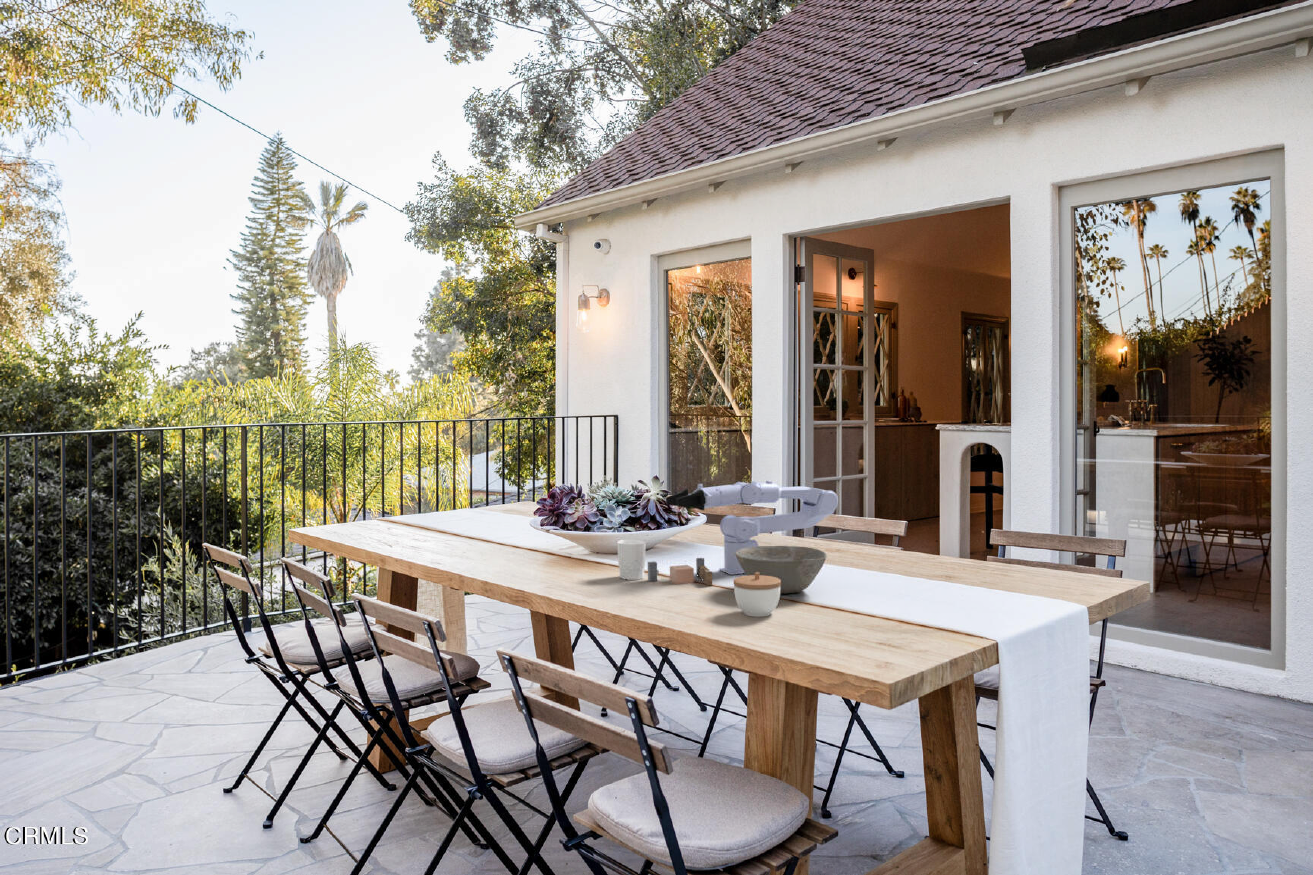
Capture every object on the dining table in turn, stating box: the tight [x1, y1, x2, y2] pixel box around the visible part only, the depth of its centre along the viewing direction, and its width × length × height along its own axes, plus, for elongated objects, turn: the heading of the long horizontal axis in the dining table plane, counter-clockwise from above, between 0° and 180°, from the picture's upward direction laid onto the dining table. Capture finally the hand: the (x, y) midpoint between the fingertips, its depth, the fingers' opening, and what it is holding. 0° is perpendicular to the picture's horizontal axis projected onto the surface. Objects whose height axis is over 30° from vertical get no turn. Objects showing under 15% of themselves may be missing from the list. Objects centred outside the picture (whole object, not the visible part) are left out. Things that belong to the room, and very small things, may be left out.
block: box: [669, 564, 695, 585], centre depth 231 cm, size 5×5×4 cm
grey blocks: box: [647, 557, 705, 582], centre depth 234 cm, size 16×2×5 cm, turn 109°
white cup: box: [616, 539, 647, 581], centre depth 236 cm, size 8×8×10 cm
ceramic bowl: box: [735, 545, 827, 595], centre depth 217 cm, size 22×23×10 cm
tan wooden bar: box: [699, 564, 713, 587], centre depth 229 cm, size 10×1×4 cm, turn 9°
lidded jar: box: [733, 572, 781, 618], centre depth 195 cm, size 11×11×9 cm
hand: (671, 501), depth 234 cm, fingers open, 7 cm apart
